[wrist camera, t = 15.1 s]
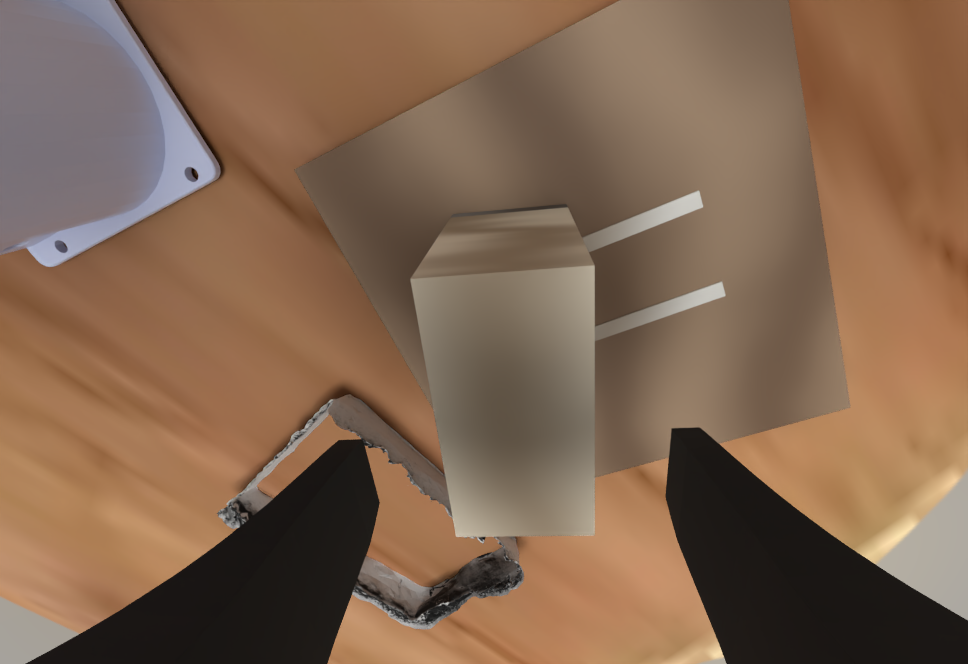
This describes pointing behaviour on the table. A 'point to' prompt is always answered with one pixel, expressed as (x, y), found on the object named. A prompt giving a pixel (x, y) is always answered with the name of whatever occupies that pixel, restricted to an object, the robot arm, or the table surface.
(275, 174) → the table surface
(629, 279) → the walnut board
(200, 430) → the table surface
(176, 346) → the table surface
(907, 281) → the table surface
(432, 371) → the block
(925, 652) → the robot arm
